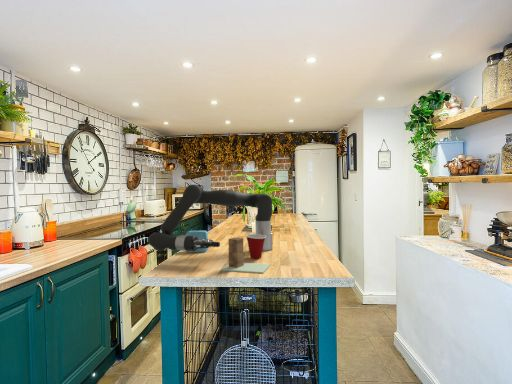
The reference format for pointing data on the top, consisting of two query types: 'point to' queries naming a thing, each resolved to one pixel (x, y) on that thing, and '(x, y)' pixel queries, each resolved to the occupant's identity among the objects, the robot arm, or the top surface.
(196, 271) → the top surface
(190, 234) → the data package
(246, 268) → the mat
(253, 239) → the plastic cup
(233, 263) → the walnut block
